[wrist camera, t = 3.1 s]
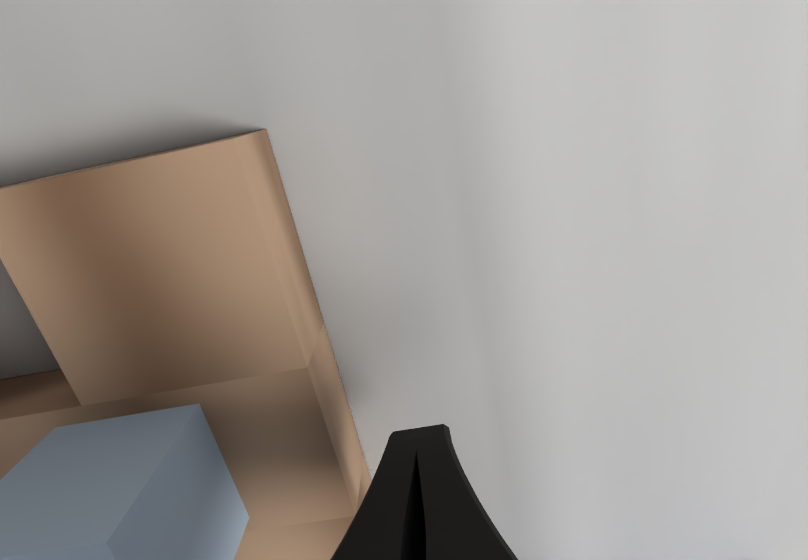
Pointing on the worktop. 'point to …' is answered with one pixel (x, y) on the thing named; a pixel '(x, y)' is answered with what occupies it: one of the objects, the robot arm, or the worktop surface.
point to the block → (123, 493)
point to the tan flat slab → (188, 328)
